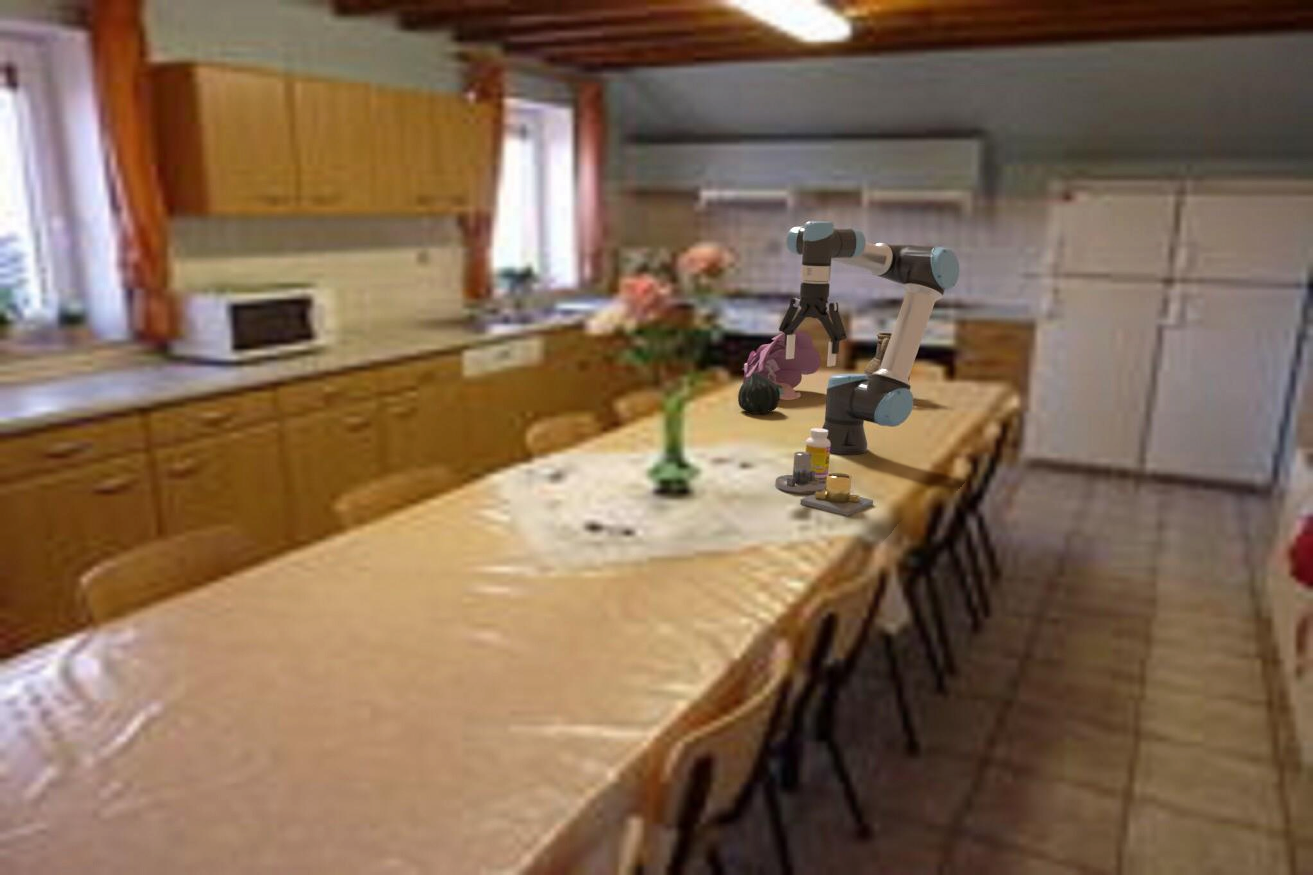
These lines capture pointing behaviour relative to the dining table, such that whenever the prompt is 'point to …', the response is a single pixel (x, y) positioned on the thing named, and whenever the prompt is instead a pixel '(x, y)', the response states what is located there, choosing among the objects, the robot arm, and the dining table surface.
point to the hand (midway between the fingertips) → (810, 362)
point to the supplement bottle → (819, 451)
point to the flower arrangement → (784, 363)
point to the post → (801, 477)
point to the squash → (758, 395)
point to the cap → (837, 489)
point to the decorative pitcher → (878, 354)
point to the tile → (836, 505)
